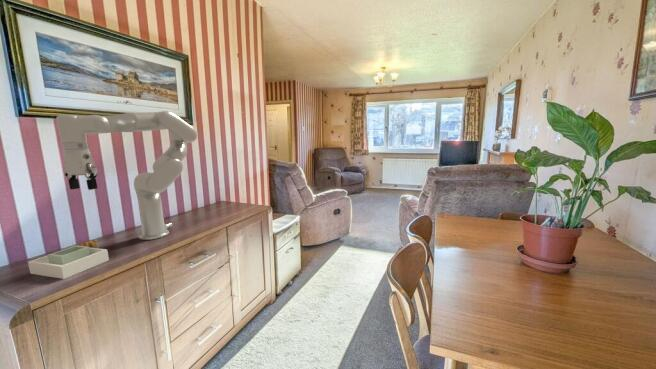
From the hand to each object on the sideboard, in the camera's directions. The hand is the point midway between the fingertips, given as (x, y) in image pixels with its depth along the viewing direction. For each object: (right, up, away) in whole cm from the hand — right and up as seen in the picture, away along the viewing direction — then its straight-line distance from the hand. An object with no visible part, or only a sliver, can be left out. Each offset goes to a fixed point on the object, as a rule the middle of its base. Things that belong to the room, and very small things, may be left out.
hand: (83, 188), depth 111 cm
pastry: (-5, -27, +8) cm, 29 cm away
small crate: (+3, -28, -9) cm, 30 cm away
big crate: (+3, -29, -9) cm, 31 cm away
